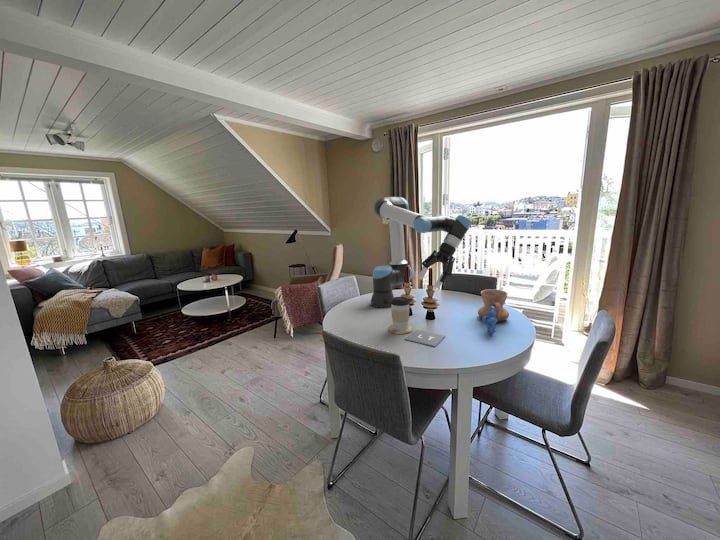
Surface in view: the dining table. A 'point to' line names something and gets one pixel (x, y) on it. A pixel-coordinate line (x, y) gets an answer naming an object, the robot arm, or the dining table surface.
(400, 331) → the coaster
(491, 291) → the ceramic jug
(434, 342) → the tile
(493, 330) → the grapes
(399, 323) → the coffee cup
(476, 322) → the dining table surface
